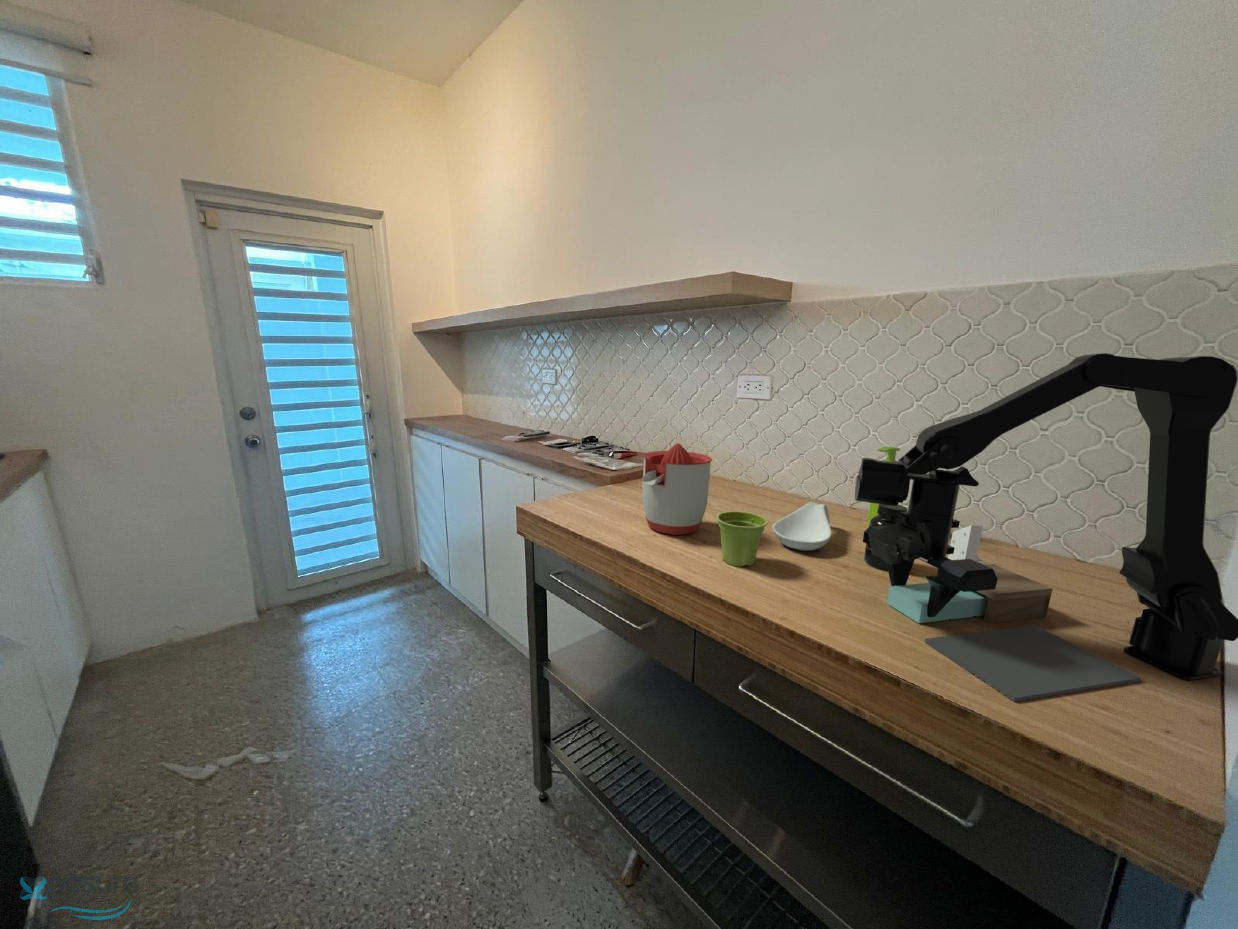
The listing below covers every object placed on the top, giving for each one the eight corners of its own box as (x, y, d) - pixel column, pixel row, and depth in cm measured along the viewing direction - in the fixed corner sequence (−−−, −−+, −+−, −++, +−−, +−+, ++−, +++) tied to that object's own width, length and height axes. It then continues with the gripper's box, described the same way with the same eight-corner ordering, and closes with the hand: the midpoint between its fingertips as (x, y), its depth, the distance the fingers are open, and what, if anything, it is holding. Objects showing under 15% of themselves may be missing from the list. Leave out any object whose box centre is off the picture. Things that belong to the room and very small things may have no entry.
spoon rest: (822, 562, 91) (827, 528, 90) (763, 548, 98) (766, 515, 96) (843, 530, 110) (847, 502, 109) (793, 520, 117) (796, 493, 115)
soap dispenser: (858, 526, 113) (870, 445, 109) (877, 523, 116) (889, 444, 112) (880, 534, 108) (893, 450, 104) (899, 530, 111) (913, 448, 107)
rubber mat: (1140, 681, 57) (1141, 677, 57) (1013, 702, 53) (1014, 698, 53) (1035, 628, 68) (1036, 625, 68) (924, 642, 64) (924, 638, 64)
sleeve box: (1045, 616, 72) (1052, 588, 71) (990, 623, 70) (996, 594, 69) (988, 589, 81) (993, 564, 80) (936, 594, 78) (941, 568, 77)
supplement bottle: (863, 566, 89) (872, 507, 86) (863, 555, 95) (871, 499, 92) (904, 575, 86) (915, 513, 83) (902, 562, 92) (911, 504, 89)
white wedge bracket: (976, 573, 82) (971, 525, 84) (948, 578, 91) (944, 535, 94) (1000, 575, 81) (994, 527, 83) (968, 580, 90) (964, 536, 93)
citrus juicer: (620, 526, 107) (623, 441, 103) (670, 513, 119) (674, 436, 115) (671, 546, 96) (676, 452, 92) (720, 529, 107) (727, 445, 103)
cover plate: (991, 614, 72) (995, 597, 71) (918, 623, 69) (922, 605, 68) (955, 596, 78) (958, 580, 77) (886, 603, 74) (889, 586, 74)
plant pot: (757, 575, 84) (761, 530, 82) (707, 563, 88) (710, 520, 86) (767, 558, 92) (772, 516, 90) (721, 548, 96) (724, 508, 94)
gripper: (841, 494, 76) (829, 582, 79) (941, 534, 58) (920, 645, 61) (898, 493, 78) (884, 578, 81) (1011, 531, 60) (987, 638, 64)
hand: (913, 606), depth 72 cm, fingers closed on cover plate, 6 cm apart
